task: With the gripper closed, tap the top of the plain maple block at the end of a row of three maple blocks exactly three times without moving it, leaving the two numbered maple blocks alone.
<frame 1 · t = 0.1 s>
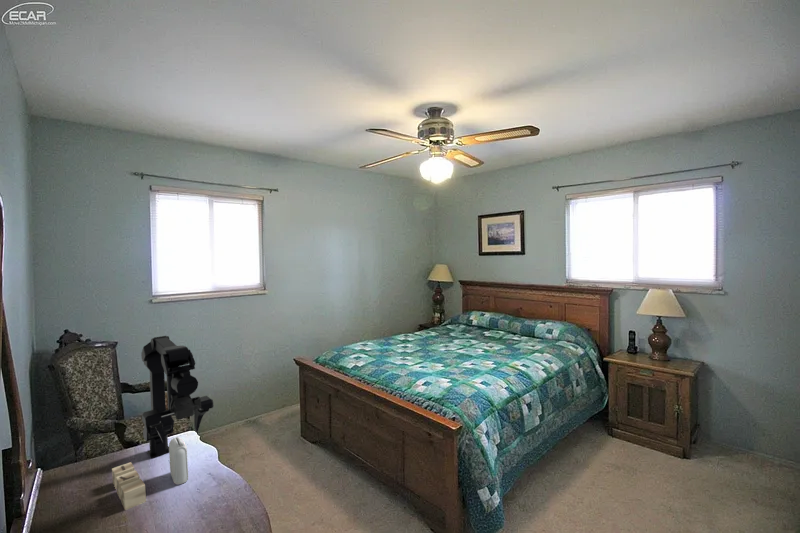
hand: (180, 437, 118), 15 cm above the dresser top, tool pointing down, fingers open, 9 cm apart
block seven: (128, 492, 115), on the dresser top
block one: (123, 483, 120), on the dresser top
photo printer: (179, 477, 122), on the dresser top
plain block: (133, 502, 110), on the dresser top
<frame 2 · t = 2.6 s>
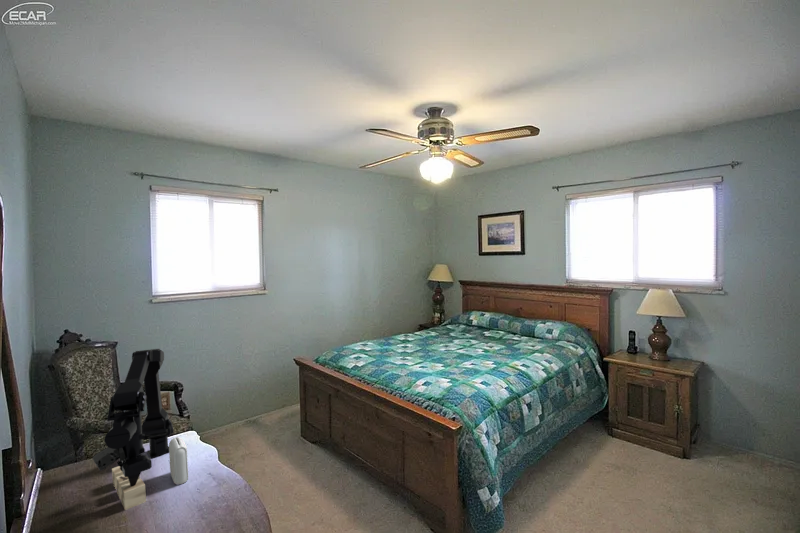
hand: (132, 485, 110), 5 cm above the dresser top, tool pointing down, fingers closed, pressing on plain block
plain block: (133, 502, 110), on the dresser top, touching gripper
everything else where it was.
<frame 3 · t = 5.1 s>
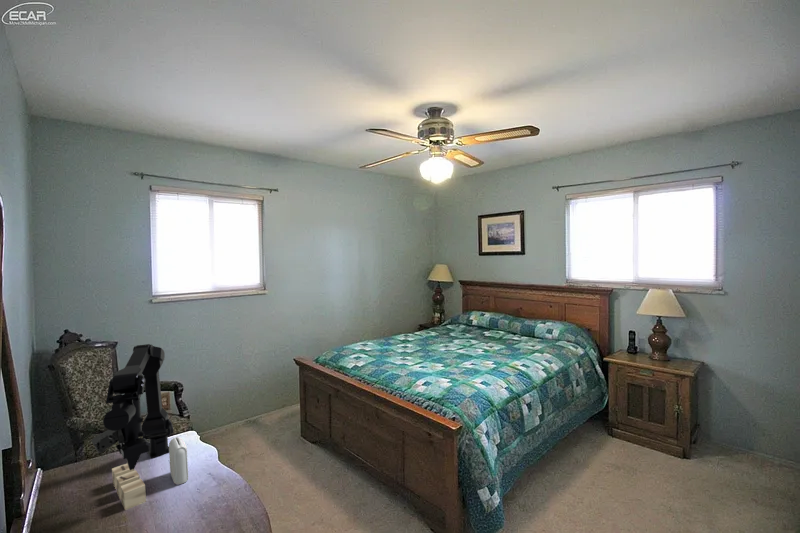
hand: (131, 469, 110), 10 cm above the dresser top, tool pointing down, fingers closed
plain block: (133, 502, 110), on the dresser top
everything else where it was.
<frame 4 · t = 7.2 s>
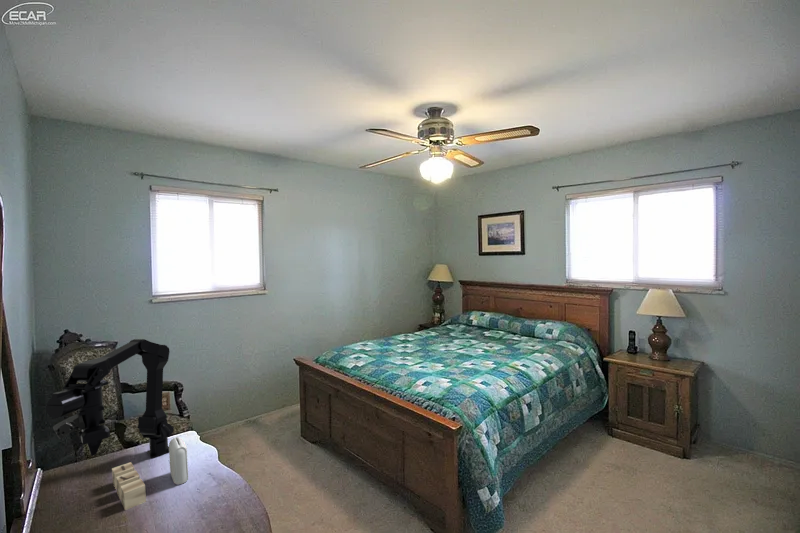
hand: (93, 455, 114), 12 cm above the dresser top, tool pointing down, fingers closed
nothing on the dresser top moved.
at the end: plain block moved 0.1 cm from its start; plain block tilted 0°; block seven moved 0.1 cm from its start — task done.
